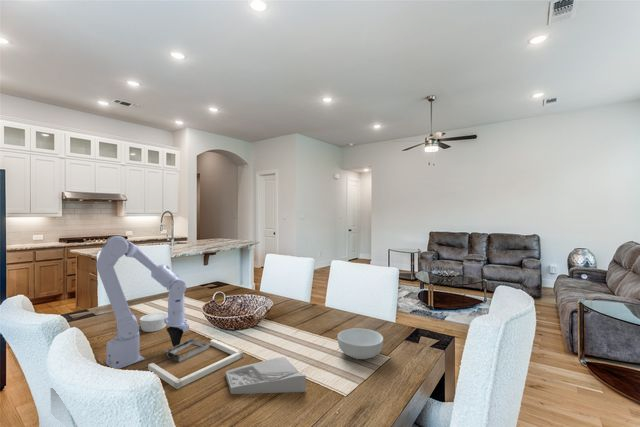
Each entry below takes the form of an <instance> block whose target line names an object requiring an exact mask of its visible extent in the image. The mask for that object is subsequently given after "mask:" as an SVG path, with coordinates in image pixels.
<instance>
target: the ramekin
mask: <svg viewBox="0 0 640 427" xmlns="http://www.w3.org/2000/svg"><path fill="white" fill-rule="evenodd" d="M167 317H168V313H166V312H153V313H149V314H148V313H147V314H145V315H142V316H141V317H139V323H140V328H141V331H143V332H144V333H145V332H146V333H152V332H153V333H154V332H158V331H161V330H164V328H165V327H166V326H167V323H166V324H165V323H164V318H167Z"/></svg>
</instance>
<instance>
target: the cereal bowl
mask: <svg viewBox="0 0 640 427" xmlns="http://www.w3.org/2000/svg"><path fill="white" fill-rule="evenodd" d="M337 344H338V347H339V349H340V351H341V352H343V354H345V355H346V356H348V357H351V358H352V357H353V358H352V359H354V358H356V359H355V360H358V359H365V360H368V359H370V358H374V357H376V356H377V355H379V354H380V353H381V351H382V350H383V347H384V336H383V335H382V334H381V333H380V332H378V331H376V330H372V329H368V328H359V327H356V328H355V327H353V328H347V329H343V330H341V331H340V332H339V333H337Z"/></svg>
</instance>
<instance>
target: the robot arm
mask: <svg viewBox="0 0 640 427" xmlns="http://www.w3.org/2000/svg"><path fill="white" fill-rule="evenodd" d="M100 250H101V251H100V253H99V255H98V259H97V261H96V263H95V266H96V270H97V272H98V275H99V278H100V280H101V283H102V285H103V288H104V290H105V293H106V296H107V298H108V302H109V304H110V306H111V308H112V310H113V311H112V312H113V313H114V314H113V315H114V317H115V319H116V320H115V321H116V329H117V331H116V332H117V333H116V334H115V336H114V338H113V339H111V340H108V341H107V342H106V345H105V346H106V347H105V352H106V353H105V358H106V359H105V361H104V362H105V364H106V365H107V366H108V367H110V368H111V367H112V368H117V370H120V369H122V368H124V367H128V366H130V365H133V364H135V363H139V362H141V361H144V360H145V357H143V356H142V355H140V324H139V322H138V319H137V317H136V315H135V314H134V313H133V312H132V311H131V309H130V307H129V304H128V302H127V299H126V296H125V293H124V290H123V289H122V286H121V283H120V280H119V278H118V275H117V272H116V270H115V267H114V266H115V265H116V264H117V262H118V261H119V259H120V258H122V257H127V258H133V259H135V260H136V261H138V262H139V263H140V264H142V265H143V266H144V267H145V268H146V269H147V270H149V271H150V272H151V273H150V276H151V278H152V279H154V280H155V281H156V282H158V284H160V285H161V286H162V287H163V288H166V290H167V291H168V298H167V304H168V305H167V314H168V317H167V318H164V323H165V324H166V326H167V327H166V331H167V333H168V335H169V338H170V341H171V344H172V347H173V348H174V347H175V346H177V345H180V344H181V341H182V337H183V334H184V333H186V332H188V331H190V324H188V323H187V321H188V319H187V318H185V292H186V291H187V286H186V283H185V282H184V281H183V280H182V279H181V277H180V275H178V274H175V273H174V272H173V271H172V270H171V267H170V266H168V265H165V264H158V263H156V262H155V261H154V259H152V258H151V257H150V256H149V255H147V253H146V252H145V251H143V250H142V249H141V248H140V247H139V246H138V245H136V244H135V243H133V242H131V241H129V240H127V239H126V238H125V237H123V236H122V235H112V236H111V237H109V238H108V239H107V240H106V241H105V243H104V244H103V245H102V247H101V249H100ZM112 368H111V369H112Z"/></svg>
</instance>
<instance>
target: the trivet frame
mask: <svg viewBox="0 0 640 427" xmlns="http://www.w3.org/2000/svg"><path fill="white" fill-rule="evenodd" d="M209 344H210V345H209V346H211V347H214V348H215V349H218V350H220V351H222V352H224V353H227V354H229V356H226V357H225V358H222V359H220V360H218V361H216V362H213V363H211V364H209V365H207V366H205V367H203V368H200V369H198V370H196V371H193V372H191V373H190V374H187V375H186V376H182V377H181V378H178V377H176V376H175V375H174V374H172V373H170V372H168V371H167V370H166V369H163V368H162V367H160V366H158V365H157V364H156V363H154V362H151V363H149V364H148V365H147V367H148V368H147V369H148V372H151V371H152V372H155V373H156V374H157V375H158V376H159V377H158V376H157V375H156V376H157V377H158V378H160V379H161V380H163V381H164V382H165V383H166V384H168V385H170V386H172V387H173V388H175V389H176V390H177V389H180V388H182V387H184V386H186V385H188V384H190V383H193V382H195V381H197V380H199V379H200V378H203V377H205V376H207V375H210V374H211V373H213V372H215V371H218V370H220V369H221V368H223V367H226V366H228V365H230V364H232V363H233V362H236V361H238V360H240V359H242V358H244V352H243V351H241V350H239V349H237V348H235V347H233V346H231V345H227V344H225V343H223V342H221V341H219V340H216V339H214V338H213V339H211V340H210V341H209ZM152 372H151V373H152Z"/></svg>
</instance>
